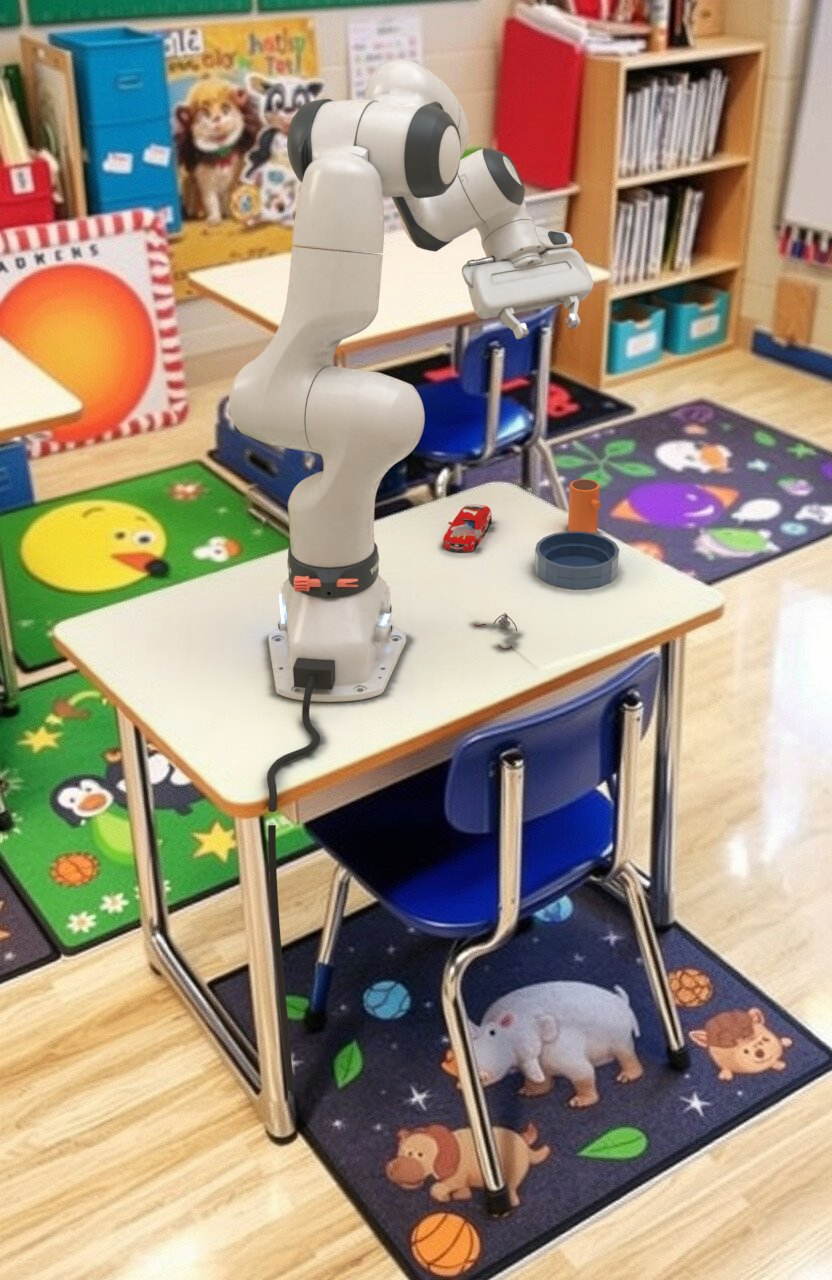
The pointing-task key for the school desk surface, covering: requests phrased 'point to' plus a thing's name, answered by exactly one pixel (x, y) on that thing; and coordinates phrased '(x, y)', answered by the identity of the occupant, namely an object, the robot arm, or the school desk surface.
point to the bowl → (576, 560)
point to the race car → (468, 528)
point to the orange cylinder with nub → (583, 505)
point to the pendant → (503, 624)
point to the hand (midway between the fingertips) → (549, 331)
